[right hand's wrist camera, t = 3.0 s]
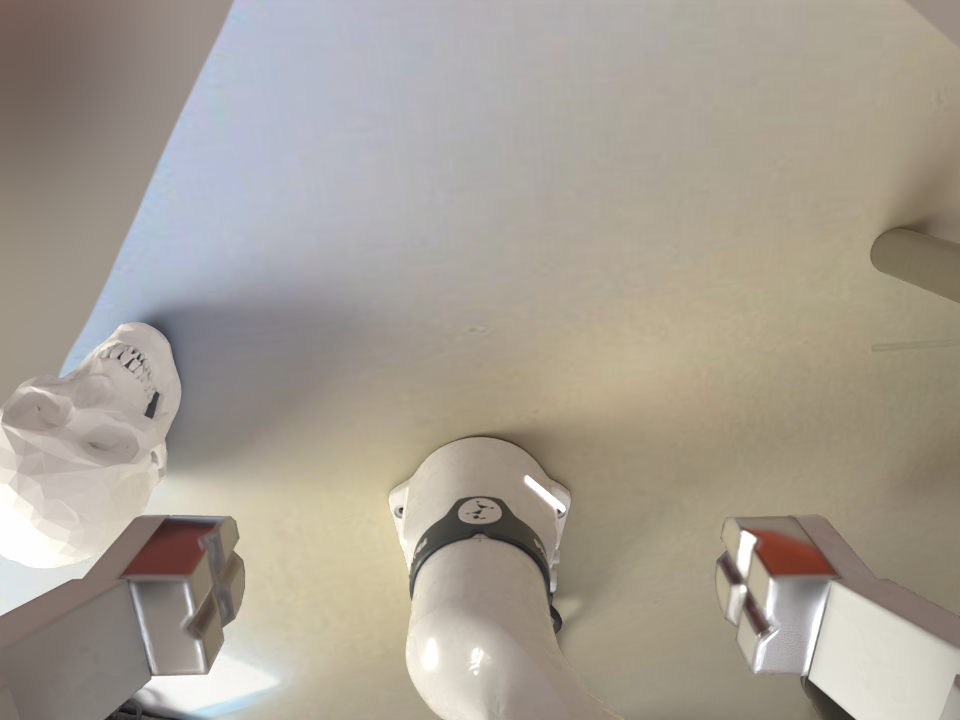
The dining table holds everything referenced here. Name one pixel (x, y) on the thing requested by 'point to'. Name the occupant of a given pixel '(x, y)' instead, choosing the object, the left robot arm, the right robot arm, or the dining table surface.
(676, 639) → the dining table surface
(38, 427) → the skull
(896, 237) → the silver metal cylinder
